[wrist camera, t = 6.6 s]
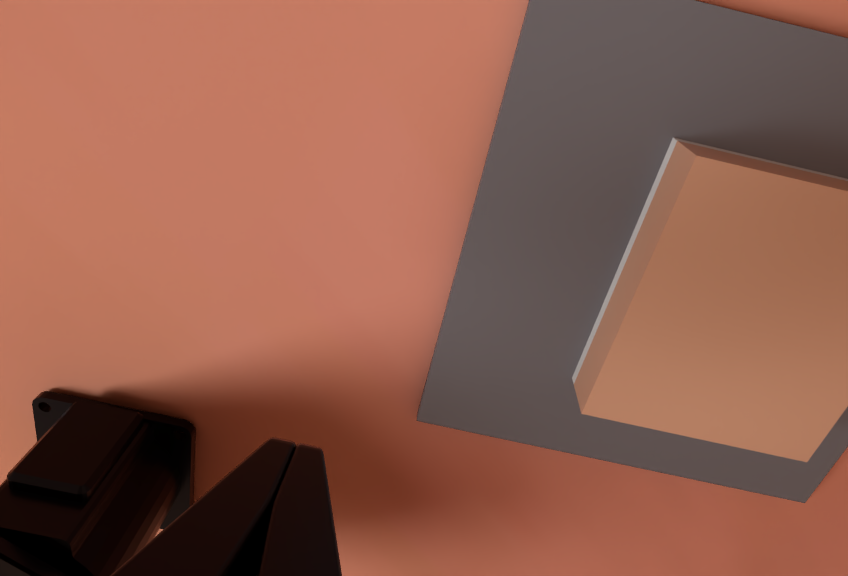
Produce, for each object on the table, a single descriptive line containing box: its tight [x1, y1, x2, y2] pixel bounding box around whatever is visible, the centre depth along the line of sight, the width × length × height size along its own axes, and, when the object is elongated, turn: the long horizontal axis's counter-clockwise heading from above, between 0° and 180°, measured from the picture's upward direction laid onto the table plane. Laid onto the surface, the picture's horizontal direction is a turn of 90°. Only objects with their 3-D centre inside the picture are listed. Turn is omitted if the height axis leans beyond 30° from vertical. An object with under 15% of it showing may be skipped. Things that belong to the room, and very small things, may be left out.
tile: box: [572, 138, 848, 462], centre depth 19 cm, size 9×2×8 cm
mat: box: [417, 0, 848, 503], centre depth 20 cm, size 16×16×1 cm
